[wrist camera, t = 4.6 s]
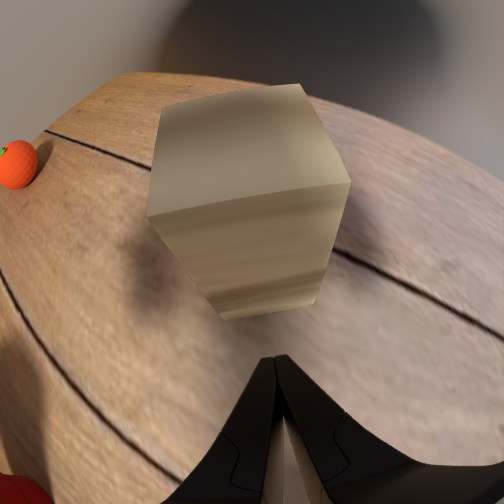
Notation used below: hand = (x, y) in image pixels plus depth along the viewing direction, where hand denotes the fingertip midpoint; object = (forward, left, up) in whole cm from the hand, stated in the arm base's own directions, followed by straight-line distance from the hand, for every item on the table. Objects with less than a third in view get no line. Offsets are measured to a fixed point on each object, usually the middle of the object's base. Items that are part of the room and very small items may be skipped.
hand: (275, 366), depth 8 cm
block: (+4, +6, -9) cm, 11 cm away
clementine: (-11, +39, -9) cm, 41 cm away
